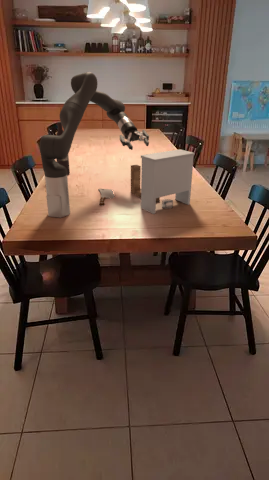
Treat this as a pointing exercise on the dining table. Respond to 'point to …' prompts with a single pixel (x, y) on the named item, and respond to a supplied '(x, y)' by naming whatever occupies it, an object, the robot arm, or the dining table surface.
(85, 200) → the dining table surface
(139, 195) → the upright wooden plank
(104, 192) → the kitchen cleaver
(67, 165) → the wine bottle
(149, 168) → the cabinet
